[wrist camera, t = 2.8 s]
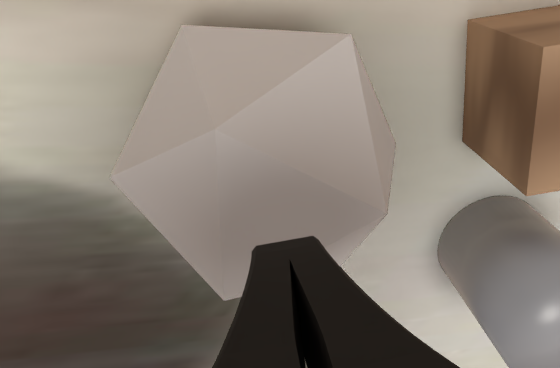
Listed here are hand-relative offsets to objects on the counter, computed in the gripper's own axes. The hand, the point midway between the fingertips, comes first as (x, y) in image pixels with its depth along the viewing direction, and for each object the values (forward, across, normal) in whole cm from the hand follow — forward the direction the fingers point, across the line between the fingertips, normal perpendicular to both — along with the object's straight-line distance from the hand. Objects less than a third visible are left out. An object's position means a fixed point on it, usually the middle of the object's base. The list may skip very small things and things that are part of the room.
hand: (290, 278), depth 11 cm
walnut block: (+10, -11, 0) cm, 15 cm away
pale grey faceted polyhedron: (+10, 0, 0) cm, 10 cm away
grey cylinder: (+10, -10, +8) cm, 16 cm away
